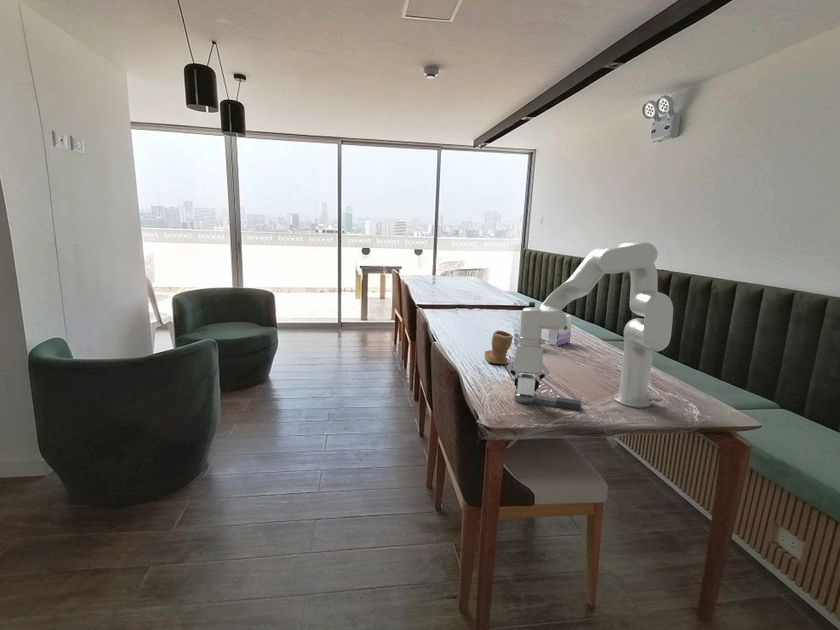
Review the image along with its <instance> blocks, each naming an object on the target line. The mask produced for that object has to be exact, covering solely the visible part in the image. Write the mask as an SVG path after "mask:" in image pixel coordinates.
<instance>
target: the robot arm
mask: <svg viewBox="0 0 840 630" xmlns="http://www.w3.org/2000/svg"><path fill="white" fill-rule="evenodd" d="M658 255H659V253H658V250H657V248H656V246H655V245H654V244H652V243H650V242H647V241H625V242H621V243H619V245H617V246H616V247H597V248H593V249H592V250H591V251H590V252H589V253H588V254H587V255H586V257H584V259H583V260H582V262H581V263H580V264H579V265H578V267H576V269H575V270H574V272H573V273H572V274H571V276H569V277H568V279H567V280H566V281H565V282H563V283H562V284H560V285H559V286H557V288H555V289H554V290H553V291H552V292H551V293H550V294H549V295H548V296H547V297H546V298H545V300H544V301H543V302H542V304H541V305H540V306H539V307H535V308H533V307H529V306H528V307H524V308H522V310H521V315H520V330H519V341H518V342H519V343H517V345H516V348H515V353H514V360H512V361H511V362H510V363H509V364H507V365H506V369H507V371H509V372H510V374H511V375H512V377H513V378H514V384H513V385H514V387H515V390H517V387H518V377H519V374H520V373H526V374H534V375H535V377H536V380H535V392H537V390H539V387H540V381H541V380H543V379H544V378H545V377H547V376H548V375H549V374H550V370H549V369H548V367H547V366H546V365H545V364H544V346H543V344H544V345H545V344H546V339H545V340H544V339H543V338H542V334H543V333H542V332H543V330H549V331H550V330H560V329H563V328H564V327H565V326H566V324H567V316H566V315H567V314H566V313H565V312H564V311H563V310H564V308H566V306H567V305H569V303H571V302H573V301H574V300H577V299H580V298H582V297H585V296H588V294H590V292H591V291H592V290H593V288H594V287H595V286H596V284H598V283H599V281H600V280H601V279H602V277H603V276H604V275H605V274H609V275H613V274H620V273H626V272H629V273H628V274H629V277H630V291H629V309H630V311H631V312H632V313H633V314H635V315H637V316H640V317H641V318H639V317H637V318H633V319H631V320H629V321H628V322H627V323H626V324H625V326H624V328H623V345H624V346H623V356H622V363H621V365H622V366H621V371H620V378H619V379H620V381H619V386H618V387H619V389H618V392H617V393H614V395H613V400H615V402H617V403H618V404H621V405H624V406H627V407H632V408H639V409H641V408H643V409H644V408H648V407H650V406H651V405H652V402H653V401H655V402H661V403H662V399H663V397H662V396H661V395H657V394H655V393H650V392H649V385H650V380H651V379H650V378H651V371H652V363H653V352H661V351H664V350H665V349H666V348H667V347H668V346H669V344H670V342H671V338H672V331H673V328H672V327H673V320H674V319H673V318H674V317H673V316H674V306H673V305H674V304H673V302H672V300H671V298H670V297H669V296H668V295H667V294H665V293H662V292H659V291H658V283H659V281H658V276H659V275H658V270H657V267H656V265H655V262H656V261H657V258H658ZM642 317H644V318H642ZM543 371H544V372H543Z"/></svg>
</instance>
